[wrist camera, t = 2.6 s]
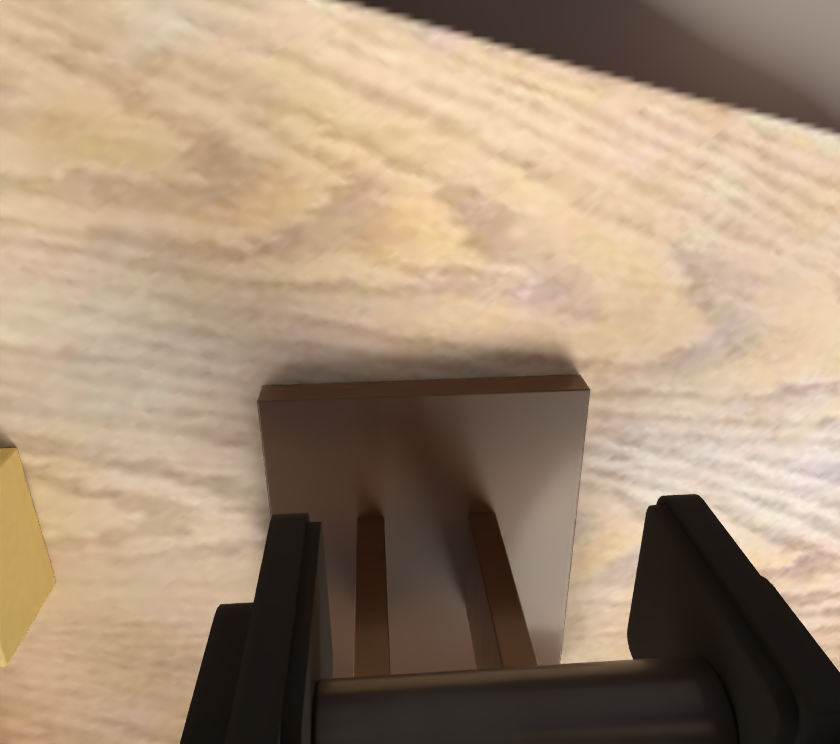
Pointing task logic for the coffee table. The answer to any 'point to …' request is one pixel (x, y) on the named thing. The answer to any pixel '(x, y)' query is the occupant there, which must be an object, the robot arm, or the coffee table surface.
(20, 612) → the butter
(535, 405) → the lever stand
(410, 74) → the coffee table surface
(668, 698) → the throttle lever
